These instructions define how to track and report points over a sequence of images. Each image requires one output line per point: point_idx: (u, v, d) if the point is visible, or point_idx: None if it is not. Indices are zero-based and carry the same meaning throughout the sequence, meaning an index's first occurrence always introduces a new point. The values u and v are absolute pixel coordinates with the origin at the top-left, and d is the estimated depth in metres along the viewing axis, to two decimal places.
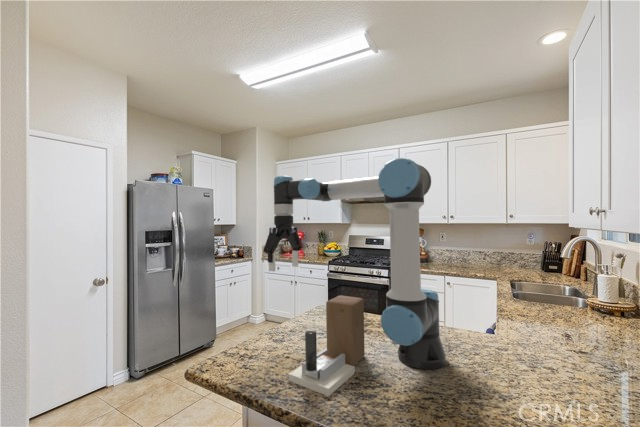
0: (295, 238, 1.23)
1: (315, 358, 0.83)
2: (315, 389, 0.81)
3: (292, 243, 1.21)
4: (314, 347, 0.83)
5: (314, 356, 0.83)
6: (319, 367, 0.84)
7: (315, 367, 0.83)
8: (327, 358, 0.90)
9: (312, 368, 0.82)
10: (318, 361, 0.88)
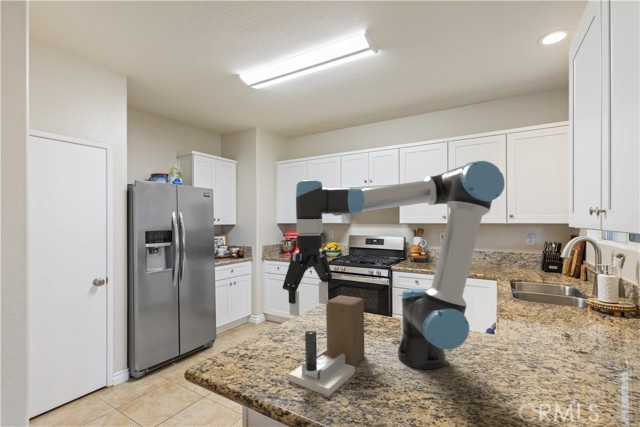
0: (323, 264, 0.90)
1: (315, 358, 0.83)
2: (315, 389, 0.81)
3: (320, 272, 0.88)
4: (314, 347, 0.83)
5: (314, 356, 0.83)
6: (319, 367, 0.84)
7: (315, 367, 0.83)
8: (327, 358, 0.90)
9: (312, 368, 0.82)
10: (318, 361, 0.88)
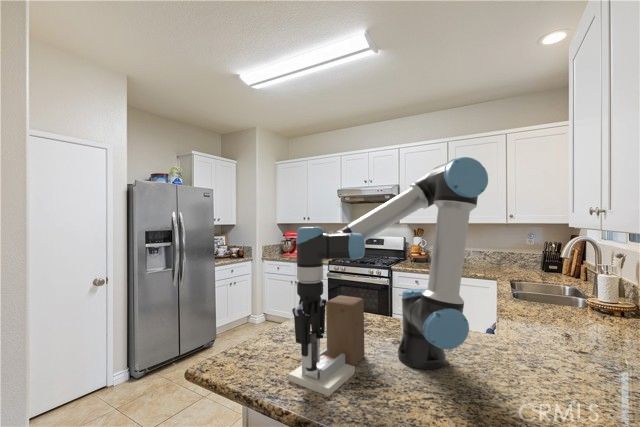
0: (320, 314, 0.88)
1: (315, 358, 0.83)
2: (315, 389, 0.81)
3: (315, 323, 0.85)
4: (314, 347, 0.83)
5: (314, 356, 0.83)
6: (319, 367, 0.84)
7: (315, 367, 0.83)
8: (327, 358, 0.90)
9: (312, 368, 0.82)
10: None
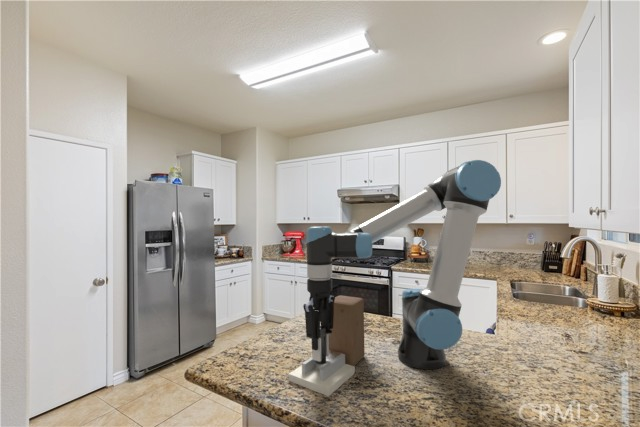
0: (328, 311, 0.92)
1: (324, 352, 0.87)
2: (315, 389, 0.81)
3: (324, 319, 0.89)
4: (324, 341, 0.87)
5: (324, 350, 0.87)
6: (328, 361, 0.88)
7: (324, 360, 0.87)
8: (335, 352, 0.94)
9: (322, 361, 0.86)
10: None
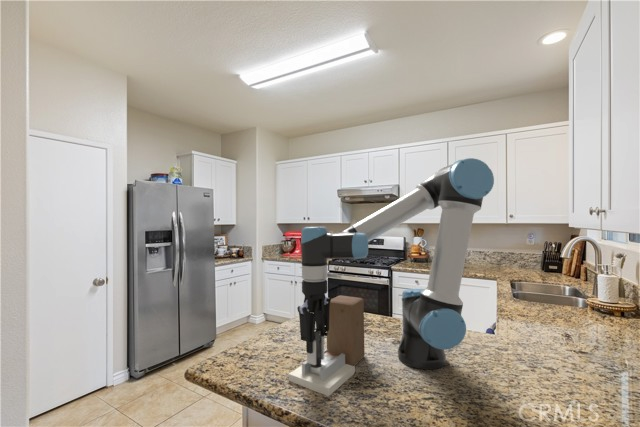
0: (324, 313, 0.90)
1: (320, 355, 0.85)
2: (315, 389, 0.81)
3: (319, 321, 0.87)
4: (319, 344, 0.85)
5: (319, 353, 0.85)
6: (323, 364, 0.86)
7: (320, 364, 0.85)
8: (331, 355, 0.92)
9: (317, 365, 0.84)
10: None
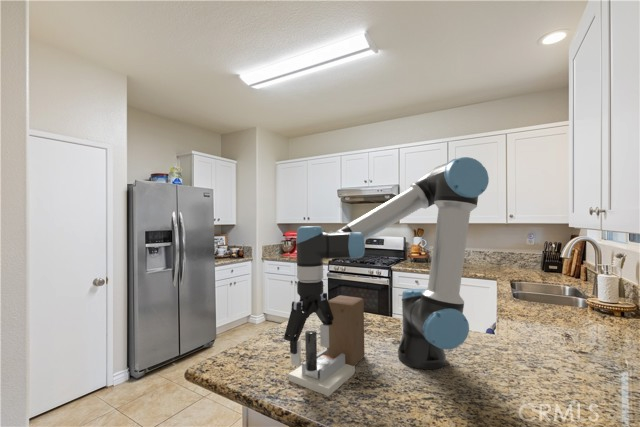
0: (324, 307, 0.90)
1: (315, 358, 0.83)
2: (315, 389, 0.81)
3: (321, 316, 0.88)
4: (314, 347, 0.83)
5: (314, 356, 0.83)
6: (319, 367, 0.84)
7: (315, 367, 0.83)
8: (327, 358, 0.90)
9: (312, 368, 0.82)
10: (318, 361, 0.88)
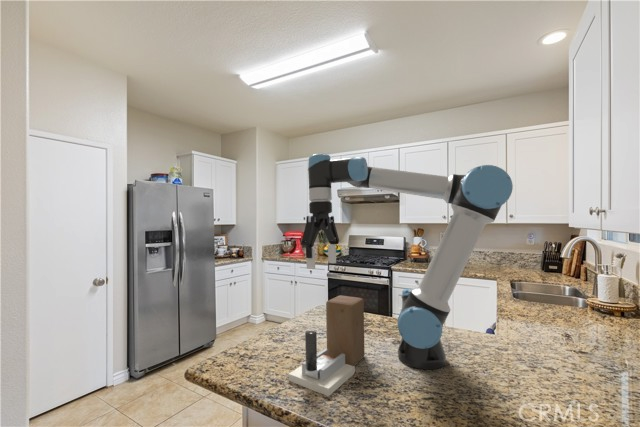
0: (331, 229, 1.04)
1: (315, 358, 0.83)
2: (315, 389, 0.81)
3: (329, 235, 1.02)
4: (314, 347, 0.83)
5: (314, 356, 0.83)
6: (319, 367, 0.84)
7: (315, 367, 0.83)
8: (327, 358, 0.90)
9: (312, 368, 0.82)
10: (318, 361, 0.88)
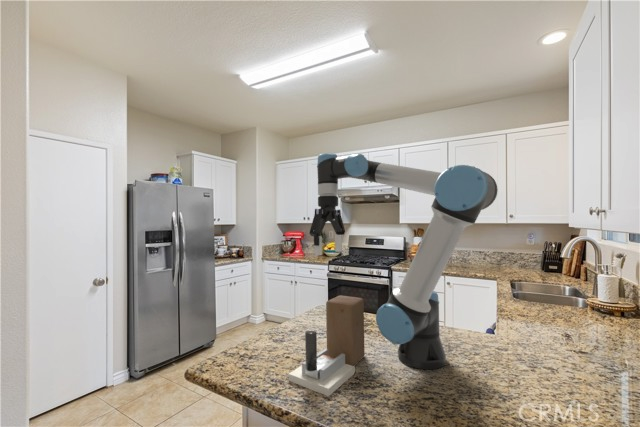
0: (338, 221, 1.15)
1: (315, 358, 0.83)
2: (315, 389, 0.81)
3: (336, 226, 1.13)
4: (314, 347, 0.83)
5: (314, 356, 0.83)
6: (319, 367, 0.84)
7: (315, 367, 0.83)
8: (327, 358, 0.90)
9: (312, 368, 0.82)
10: (318, 361, 0.88)
